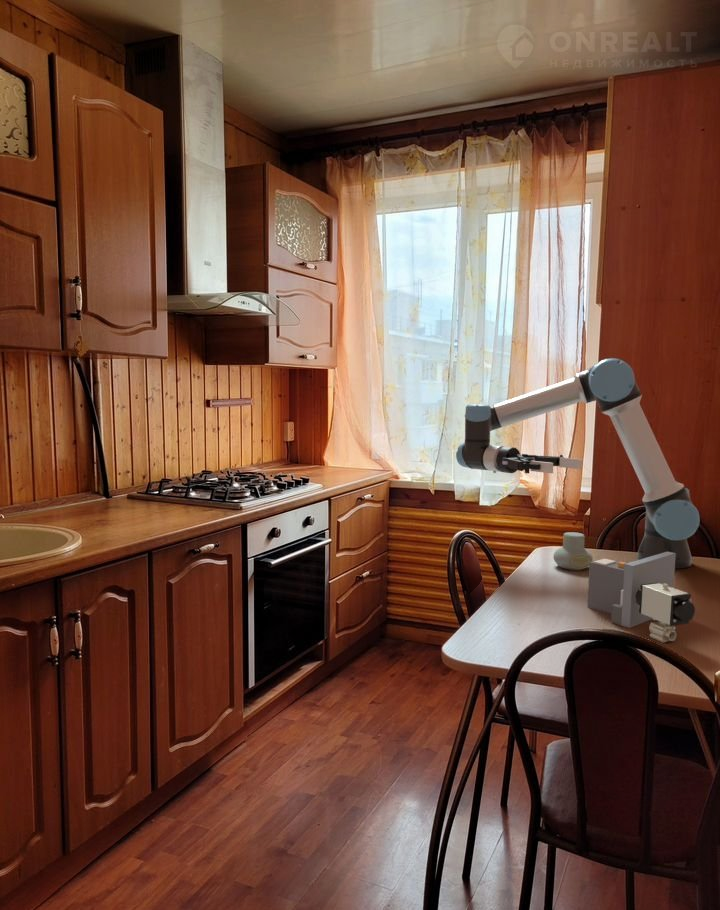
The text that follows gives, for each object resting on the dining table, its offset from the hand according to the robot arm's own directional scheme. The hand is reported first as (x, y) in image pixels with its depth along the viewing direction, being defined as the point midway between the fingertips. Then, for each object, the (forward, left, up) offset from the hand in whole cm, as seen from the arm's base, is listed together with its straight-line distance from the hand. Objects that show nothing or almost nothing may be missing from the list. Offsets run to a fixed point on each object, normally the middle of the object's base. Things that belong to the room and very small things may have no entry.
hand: (567, 466), depth 187 cm
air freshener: (-14, -6, -32) cm, 35 cm away
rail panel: (+10, +29, -31) cm, 44 cm away
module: (+12, +23, -31) cm, 40 cm away
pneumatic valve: (+20, +39, -32) cm, 54 cm away
